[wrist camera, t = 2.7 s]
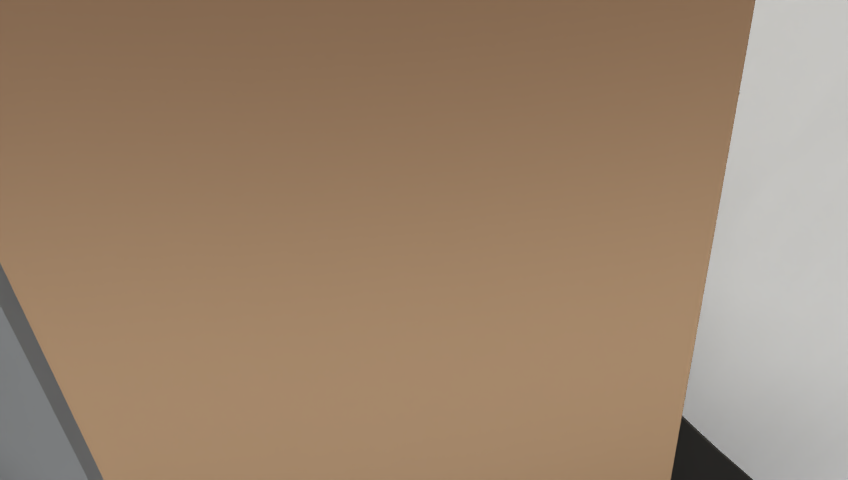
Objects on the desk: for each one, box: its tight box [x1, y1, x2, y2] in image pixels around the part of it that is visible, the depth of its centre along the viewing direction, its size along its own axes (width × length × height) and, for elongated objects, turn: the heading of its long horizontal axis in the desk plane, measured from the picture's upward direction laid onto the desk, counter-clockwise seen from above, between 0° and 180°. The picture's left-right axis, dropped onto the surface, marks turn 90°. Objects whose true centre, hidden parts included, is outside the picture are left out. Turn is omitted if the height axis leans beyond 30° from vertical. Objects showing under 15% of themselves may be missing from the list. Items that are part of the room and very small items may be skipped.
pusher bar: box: [0, 0, 755, 480], centre depth 8 cm, size 12×3×6 cm, turn 4°
